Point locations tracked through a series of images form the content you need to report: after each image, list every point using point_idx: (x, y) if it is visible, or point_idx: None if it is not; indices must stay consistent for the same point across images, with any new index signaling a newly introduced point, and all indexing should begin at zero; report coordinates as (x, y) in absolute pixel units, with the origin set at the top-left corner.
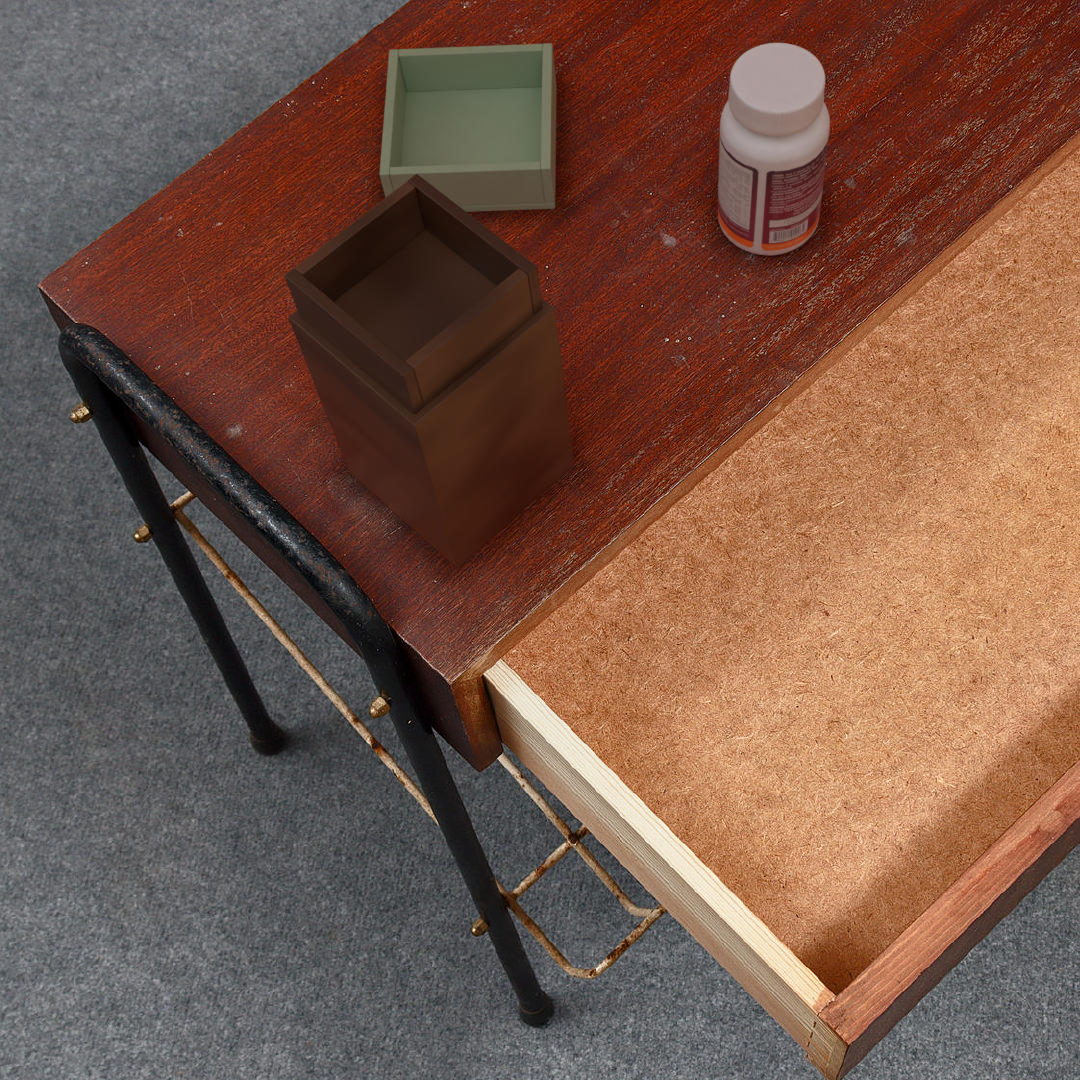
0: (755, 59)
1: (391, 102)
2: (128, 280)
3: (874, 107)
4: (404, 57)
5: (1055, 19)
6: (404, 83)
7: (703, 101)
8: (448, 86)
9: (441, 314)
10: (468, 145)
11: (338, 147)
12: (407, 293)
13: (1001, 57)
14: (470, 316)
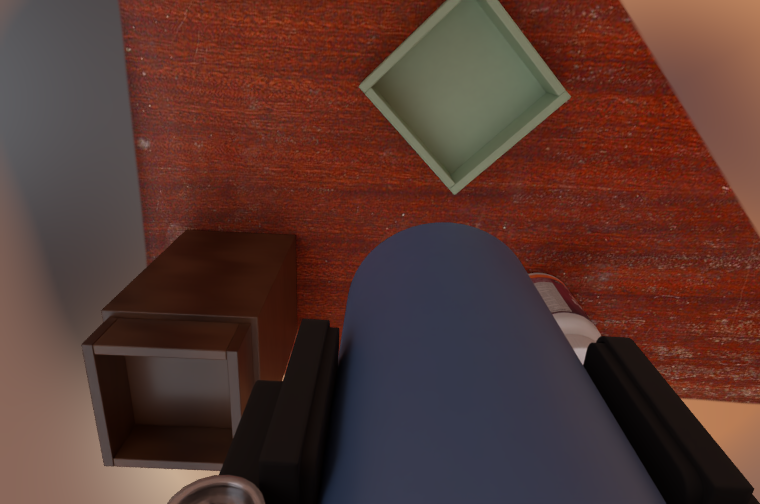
0: (582, 358)
1: (426, 29)
2: None
3: (666, 296)
4: None
5: None
6: None
7: (606, 198)
8: (494, 23)
9: (196, 391)
10: (454, 86)
11: None
12: (189, 360)
13: (756, 334)
14: (176, 466)
